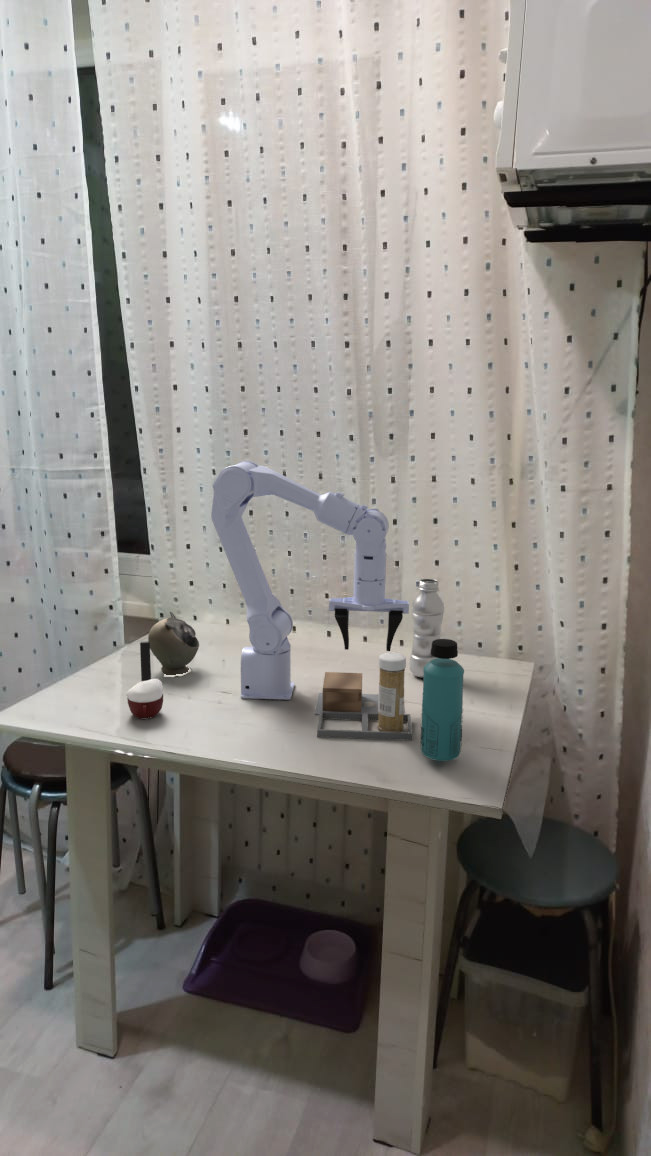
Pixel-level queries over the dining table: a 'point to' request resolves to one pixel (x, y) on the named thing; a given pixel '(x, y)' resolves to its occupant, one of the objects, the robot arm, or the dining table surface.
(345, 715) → the socket frames
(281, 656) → the robot arm
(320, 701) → the board
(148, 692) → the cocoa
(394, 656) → the spice jar
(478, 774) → the dining table surface
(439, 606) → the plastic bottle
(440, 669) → the beverage bottle
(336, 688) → the cardboard box
